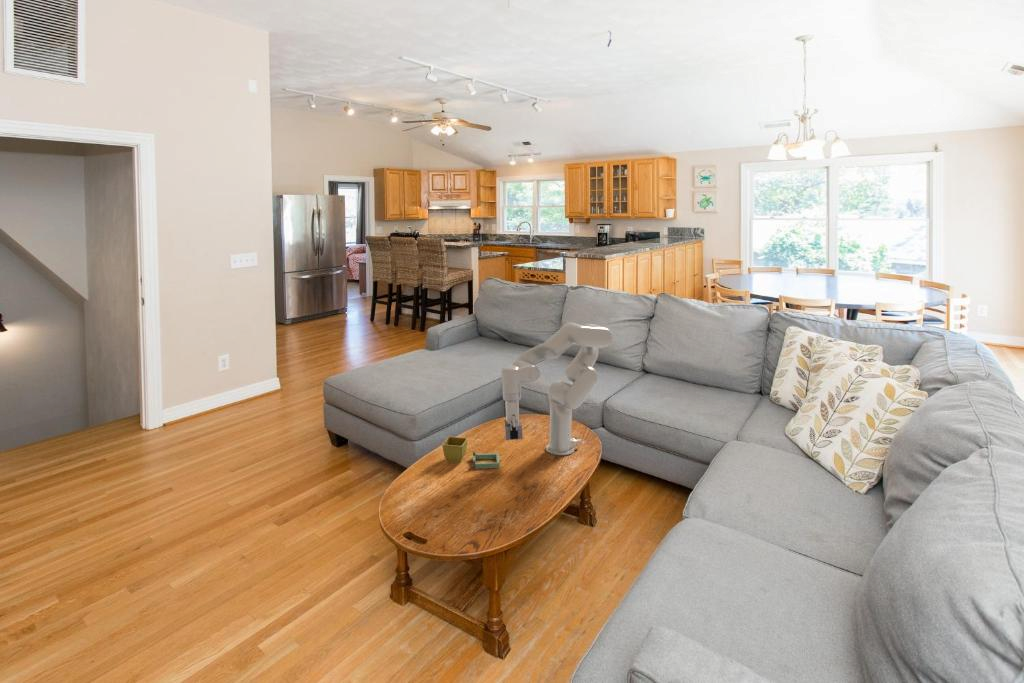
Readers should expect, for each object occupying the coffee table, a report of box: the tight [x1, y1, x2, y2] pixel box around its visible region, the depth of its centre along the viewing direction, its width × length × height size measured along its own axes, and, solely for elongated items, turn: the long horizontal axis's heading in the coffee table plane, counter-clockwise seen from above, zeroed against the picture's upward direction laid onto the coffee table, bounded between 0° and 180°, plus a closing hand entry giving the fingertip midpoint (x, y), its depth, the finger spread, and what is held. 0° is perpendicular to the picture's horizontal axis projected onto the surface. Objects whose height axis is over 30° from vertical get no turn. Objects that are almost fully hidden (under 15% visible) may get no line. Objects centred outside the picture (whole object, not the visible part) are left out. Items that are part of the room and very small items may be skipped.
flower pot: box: [442, 436, 468, 464], centre depth 242 cm, size 9×9×9 cm
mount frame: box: [472, 451, 501, 470], centre depth 241 cm, size 11×10×3 cm
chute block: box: [504, 420, 524, 441], centre depth 240 cm, size 7×5×7 cm
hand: (513, 435), depth 240 cm, fingers closed on chute block, 5 cm apart
